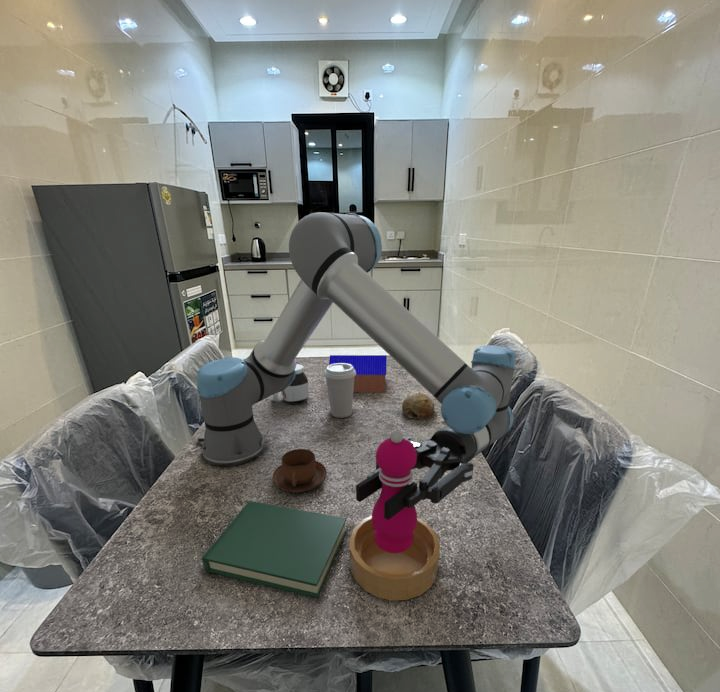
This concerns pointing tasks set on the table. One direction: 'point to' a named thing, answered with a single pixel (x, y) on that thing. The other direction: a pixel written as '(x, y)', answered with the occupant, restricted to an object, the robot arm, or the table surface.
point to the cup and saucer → (299, 471)
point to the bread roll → (418, 406)
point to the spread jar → (296, 388)
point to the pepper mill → (395, 475)
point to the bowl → (394, 563)
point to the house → (365, 371)
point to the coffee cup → (340, 388)
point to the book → (278, 548)
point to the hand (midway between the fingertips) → (371, 502)
